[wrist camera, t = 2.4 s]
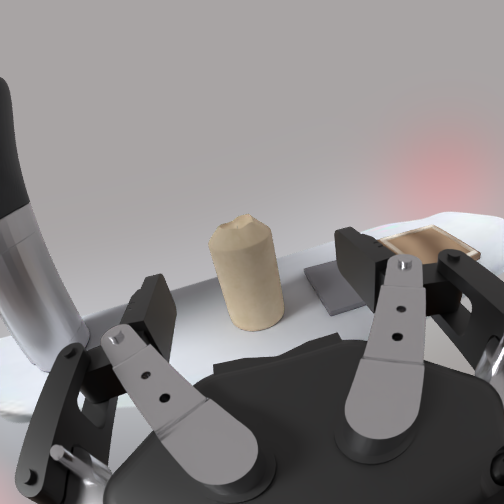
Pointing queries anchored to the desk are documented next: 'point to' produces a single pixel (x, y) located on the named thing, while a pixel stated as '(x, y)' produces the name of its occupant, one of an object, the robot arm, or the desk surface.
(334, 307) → the pad
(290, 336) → the desk surface
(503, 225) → the desk surface
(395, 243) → the board
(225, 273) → the candle
